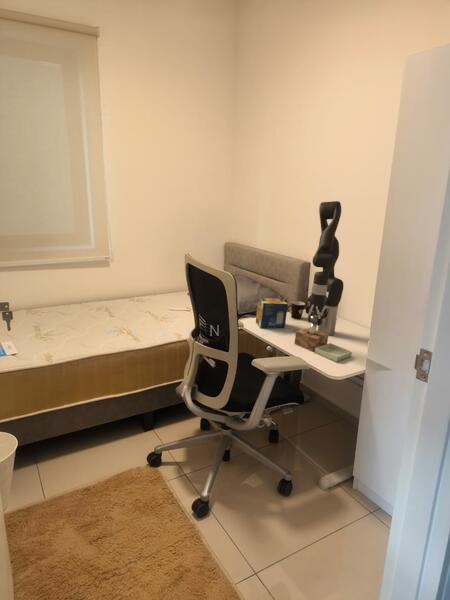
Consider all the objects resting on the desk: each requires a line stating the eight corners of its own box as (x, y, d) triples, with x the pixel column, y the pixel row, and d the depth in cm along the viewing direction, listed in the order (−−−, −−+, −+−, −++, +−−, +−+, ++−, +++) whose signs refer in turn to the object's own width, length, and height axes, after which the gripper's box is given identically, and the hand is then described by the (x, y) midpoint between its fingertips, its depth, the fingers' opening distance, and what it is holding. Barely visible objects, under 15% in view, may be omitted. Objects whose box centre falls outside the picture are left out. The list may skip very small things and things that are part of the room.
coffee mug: (301, 316, 256) (303, 301, 253) (304, 320, 247) (306, 305, 245) (283, 314, 255) (285, 300, 252) (286, 319, 247) (288, 304, 244)
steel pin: (304, 338, 205) (308, 315, 202) (310, 337, 208) (314, 314, 205) (311, 342, 201) (316, 318, 198) (317, 341, 204) (322, 317, 201)
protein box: (255, 322, 236) (257, 297, 231) (279, 322, 239) (282, 298, 235) (260, 328, 226) (262, 302, 222) (285, 328, 229) (288, 303, 225)
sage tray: (329, 347, 205) (330, 343, 204) (351, 356, 196) (352, 351, 195) (314, 353, 197) (315, 347, 196) (336, 362, 187) (337, 357, 186)
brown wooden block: (308, 339, 214) (310, 327, 212) (326, 347, 206) (328, 334, 204) (294, 343, 206) (296, 331, 205) (312, 351, 198) (314, 339, 196)
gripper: (303, 289, 201) (299, 321, 205) (326, 296, 190) (321, 329, 195) (311, 288, 206) (307, 318, 210) (335, 294, 195) (330, 326, 200)
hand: (314, 323), depth 203 cm, fingers closed on steel pin, 5 cm apart
